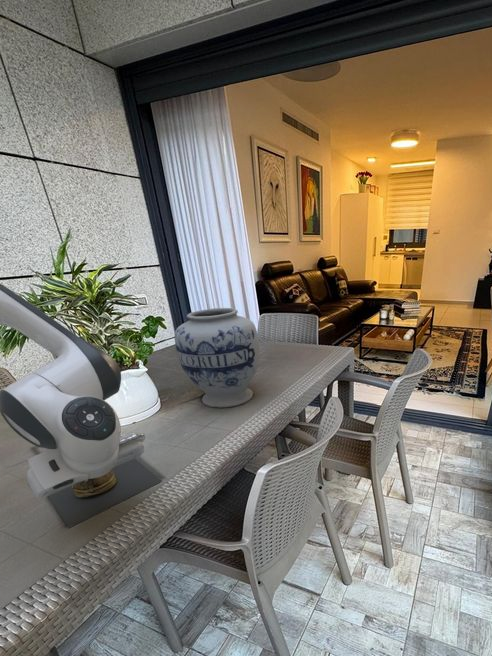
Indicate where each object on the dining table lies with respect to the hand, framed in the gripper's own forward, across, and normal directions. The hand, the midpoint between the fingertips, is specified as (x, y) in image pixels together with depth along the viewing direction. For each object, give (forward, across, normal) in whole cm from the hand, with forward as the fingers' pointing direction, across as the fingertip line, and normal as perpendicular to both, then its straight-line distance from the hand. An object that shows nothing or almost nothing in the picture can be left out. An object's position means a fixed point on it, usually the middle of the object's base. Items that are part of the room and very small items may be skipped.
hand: (91, 475), depth 76 cm
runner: (+12, -2, -2) cm, 12 cm away
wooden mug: (+7, 0, +2) cm, 8 cm away
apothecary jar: (+22, -51, -13) cm, 57 cm away
